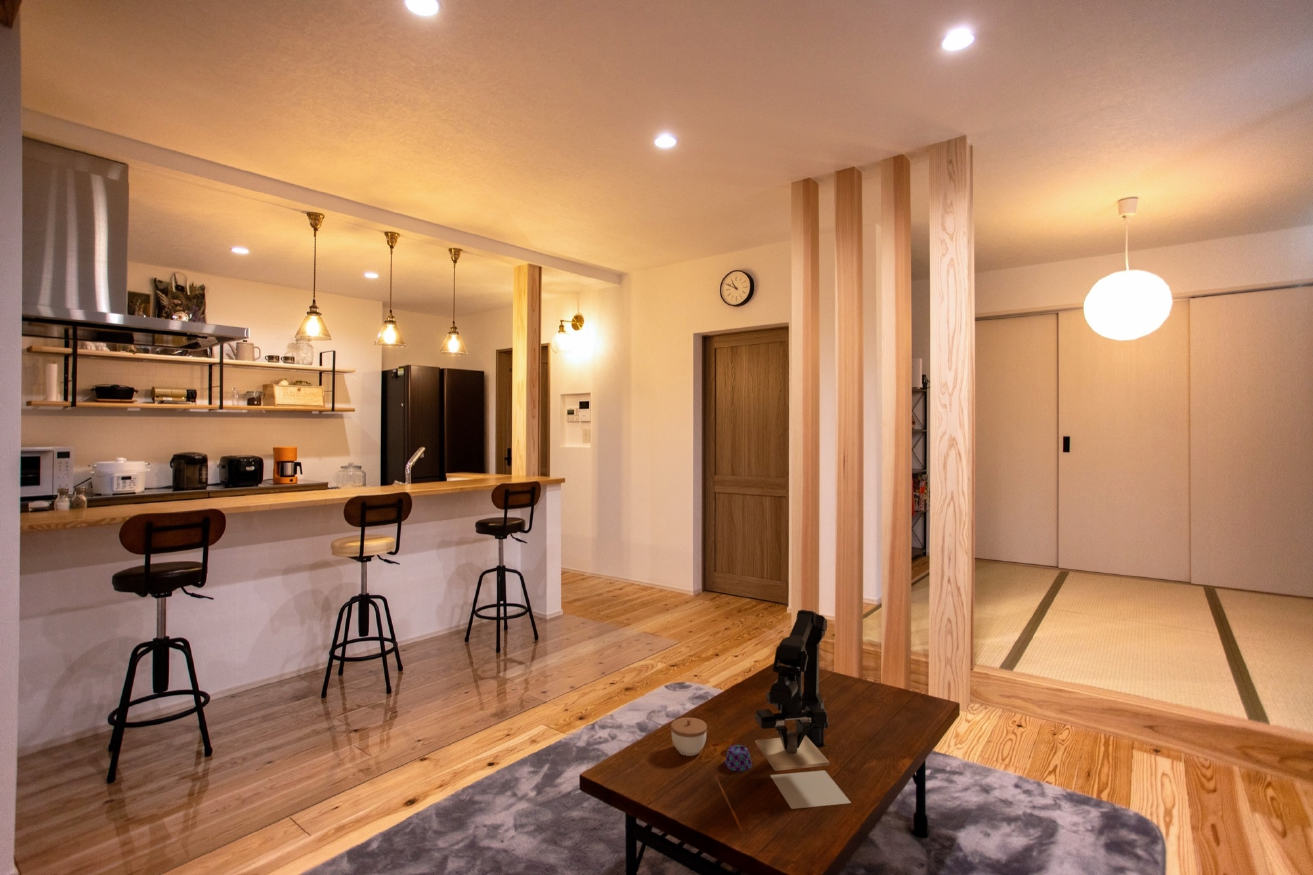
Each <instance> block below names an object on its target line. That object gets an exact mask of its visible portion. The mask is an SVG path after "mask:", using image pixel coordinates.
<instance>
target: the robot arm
mask: <svg viewBox="0 0 1313 875" xmlns="http://www.w3.org/2000/svg"><path fill="white" fill-rule="evenodd" d="M827 629H828V620H827V618H826V617H825V616H824V615H823V614H822V615H821V614H818V613H817V612H815V611H814V610H813V611H812V610H809V609H808V610H807V609H800V610H798V611H797V613H796V620H795V622H794V625H793V626H792V628H791V631H790V634H789V636H786V637H783V639H782V640H781V641H780V643H779V644H778V645H777V647H776V649H775V656H774V661H773V667H772V672H773V673H777V675H778V676H777V679H776V680H775V681H774V682H773V684H772V685H771V686H770V691H766V703H767V704H768V705H773V707H774V708H775V707H776V710H777V711H778V713H776V712H775V713H773V712H772V711H771V709H769V708H768V709H767V708H765V709H757V710H756V711H755V713H754V720H755V722H756V723H757V724H758V725H759V726H760V728H761V729H763V730H767V729H775V731H777V732H778V735H779V738H781V741H782V744H783V747H784V749H786V748H787V732H788V727H787V726H786V725H785V722H786V721H793V720H794V722H795V733H797V748H799V746H800V744H801V742H802V740H803V738H804V737H805V735H806V736H807V737H808V738H809V739H810V741H811V742H812V743H813V744H814V745H815V746H816V747H817V748H818V749H819V748H826V747H827V745H825V742H824V741H825V740H824V738H825V737H824V736H825V734H824V732H825V729H827V728H829V715H828V713H827V710H826V708H825V702H824V699H823V698H822V695H821V693H820V690H819V689H820V688H819V686H820V682H819V681H820V680H819V679H820V644H821V642H822V641H823V639H824V637H825V636H826V632H827ZM759 726H758V727H759Z"/></svg>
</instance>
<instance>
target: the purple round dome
mask: <svg viewBox="0 0 1313 875" xmlns="http://www.w3.org/2000/svg"><path fill="white" fill-rule="evenodd" d="M724 767H727V769H728V770H730V771H734V772H736V773H737V772H740V773H741V772H747V771H749V769H752V767H753V765H752V760H751V755H750V752H749V749H748V747H746V746H743V745H741V744H740V745H739V744H738V745H737V744H734V745H731V746H729V747H728V749H727V752H726V755H725V759H724Z"/></svg>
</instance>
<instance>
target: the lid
mask: <svg viewBox="0 0 1313 875" xmlns="http://www.w3.org/2000/svg"><path fill="white" fill-rule="evenodd" d="M754 743H755V744H756V746H757V747H758V750H760V751H761V753H762V755H763V756H764V758H766V760H767V762H768V763H769V765H770V766H771V767H772V769H773V771H775V772H776V771H788V770H795V769H796V770H797V769H805V768H807V769H808V768H816V767H824V766H827V767H828V766H830V765H831V764H830V761H829V760H828V759H827V758H826V756H825V755H824V754H823V753H822V751H820V749H819V748H817V747H816V746H815V745H814V744H813V743H812V742H811V741H810V739H809V738H808V737H807V736H806V735H805V737H804V738H803V740H802V742H801V744H800V746H799V748H797V733H796V731H791V730H789V731H787V748H786V749H784V747H783V744H782V741H781V738H780V737H774V738H763V739H755V742H754Z"/></svg>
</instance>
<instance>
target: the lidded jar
mask: <svg viewBox="0 0 1313 875" xmlns="http://www.w3.org/2000/svg"><path fill="white" fill-rule="evenodd" d="M670 729H671V731H670V732H671V740H672V744H673V747H675V749H676V750H677V751H678V753H679V754H681V755H682V756H685V755H686V757H693V756H697V755H698V754H699V753H700V751H702V749H703V748H704V746H705V744H706V740H707V733H708V732H707V730H708V725H707V723H706V722H705V721H704V720H702V719H701V718H700V719H699V718H696V717H681V718H678V719H675V720H673V721H672V722H671V724H670Z"/></svg>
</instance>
